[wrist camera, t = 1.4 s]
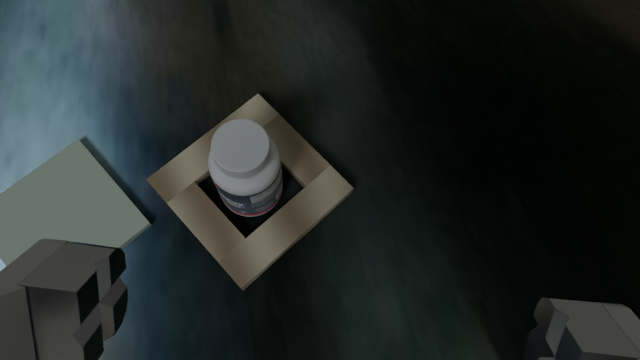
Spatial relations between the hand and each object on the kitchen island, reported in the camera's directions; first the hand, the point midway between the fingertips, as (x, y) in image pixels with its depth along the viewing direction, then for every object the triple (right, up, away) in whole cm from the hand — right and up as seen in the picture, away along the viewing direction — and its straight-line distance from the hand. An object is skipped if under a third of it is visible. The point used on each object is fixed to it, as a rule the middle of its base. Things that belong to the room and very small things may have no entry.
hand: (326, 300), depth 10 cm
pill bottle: (-6, +2, +32) cm, 32 cm away
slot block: (-6, +2, +32) cm, 32 cm away
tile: (-21, -1, +30) cm, 37 cm away
